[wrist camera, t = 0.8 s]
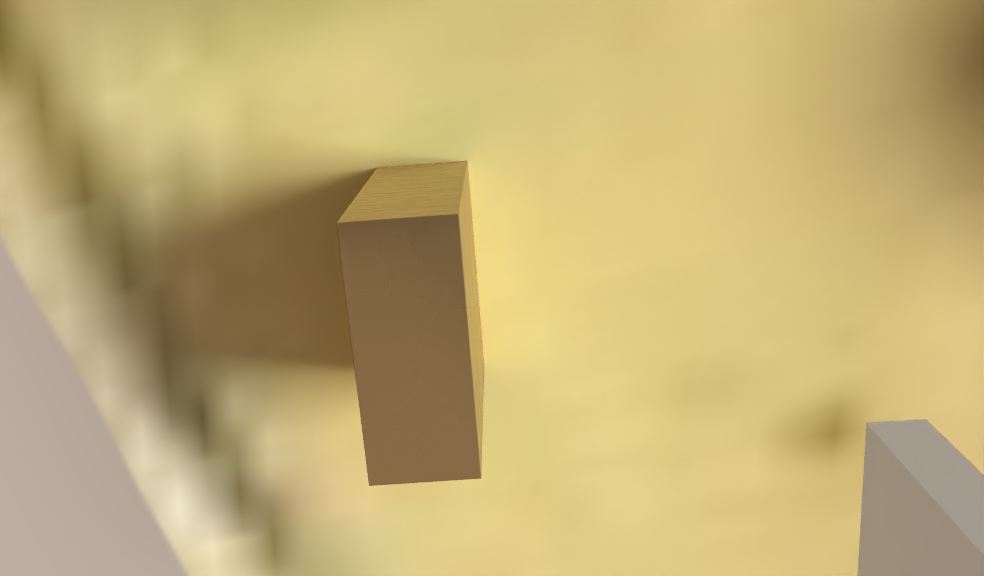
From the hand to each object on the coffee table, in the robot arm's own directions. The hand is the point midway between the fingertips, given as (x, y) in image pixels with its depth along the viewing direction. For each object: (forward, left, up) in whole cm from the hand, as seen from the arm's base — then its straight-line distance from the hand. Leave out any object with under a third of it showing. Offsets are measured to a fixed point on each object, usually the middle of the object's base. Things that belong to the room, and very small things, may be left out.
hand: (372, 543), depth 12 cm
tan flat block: (0, 0, -15) cm, 15 cm away
